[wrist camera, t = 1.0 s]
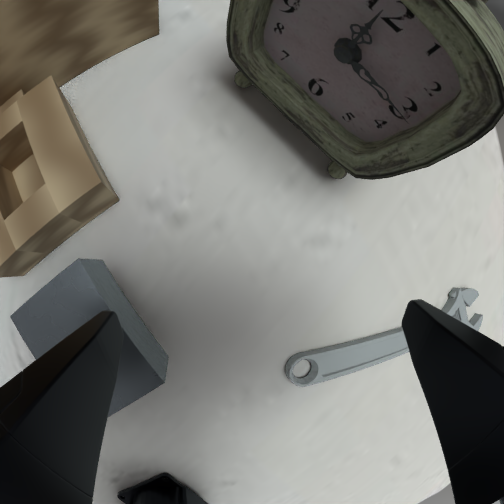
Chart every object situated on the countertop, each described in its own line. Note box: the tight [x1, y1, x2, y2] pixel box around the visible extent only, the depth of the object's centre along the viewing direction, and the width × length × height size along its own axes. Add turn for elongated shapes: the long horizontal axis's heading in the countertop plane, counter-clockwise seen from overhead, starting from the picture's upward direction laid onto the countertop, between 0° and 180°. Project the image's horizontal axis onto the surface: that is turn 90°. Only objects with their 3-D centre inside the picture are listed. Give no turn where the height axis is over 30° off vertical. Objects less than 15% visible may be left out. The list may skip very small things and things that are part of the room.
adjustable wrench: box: [285, 288, 483, 387], centre depth 24 cm, size 25×6×2 cm, turn 92°
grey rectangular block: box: [10, 259, 169, 417], centre depth 15 cm, size 5×7×8 cm
